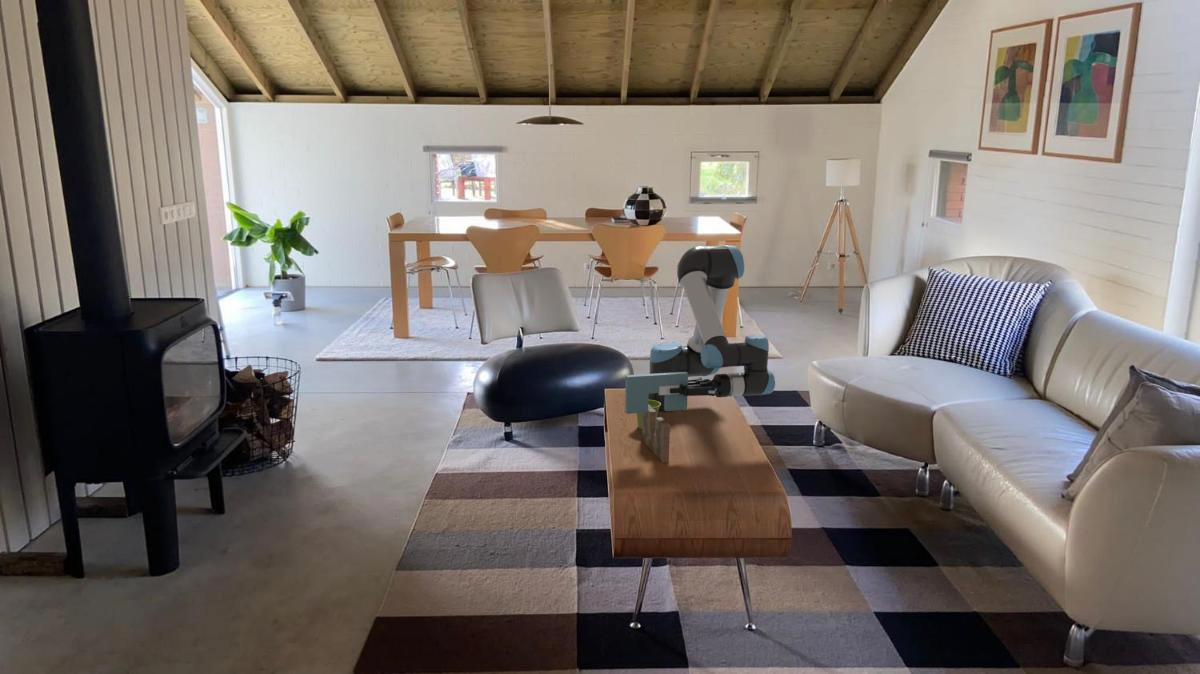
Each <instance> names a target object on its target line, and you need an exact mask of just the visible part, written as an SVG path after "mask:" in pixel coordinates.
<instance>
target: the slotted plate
mask: <svg viewBox="0 0 1200 674" xmlns="http://www.w3.org/2000/svg"><path fill="white" fill-rule="evenodd" d="M688 379H689V377H688V373H687V372H675V373H658V374H650V373H643V374H626V375H625V395H624V398H625V399H624V413H625V414H626V415H628V414H633V415H634V414H636V413H647V412H648V395H649V394H650V393H659V386H673V385H679V388H680V384H682V385H683V386H687V385H688ZM664 410H665V411H664V412H670V411H671V412H673V411H676V412H677V411H686V410H688V396H684V394H683V395H681V394H680V393H679V394H671V395H665V399H664Z"/></svg>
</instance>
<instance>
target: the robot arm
mask: <svg viewBox="0 0 1200 674" xmlns="http://www.w3.org/2000/svg"><path fill="white" fill-rule="evenodd" d="M744 273H745V261H744V257H743V254H742V251H741V250H740V249H739V247H738V246H735V245H727V244H724V245H703V246H702V245H699V246H698V245H697V246H694V247H691V248H689V249H688V250H687V251H685V252H684V253H683V254H682V256H681V258H680V260H679V262H678V264H677V273H676V274H677V280H678V284H679V287H680V288H681V289H682V290H684V291H685V294H686V297H687V299H688V304H689V305H690V308H691V311H692V314H693V316H694V319H695V326H694V331H693V336H691V337H689V338H688V339H687V344H686V345H683V346H682V344H681V343H679V342H676V341H675V342H673V341H672V342H670V341H668V342H660V343H658V344H655V345H653V347H651V348H650V354H649V358H648V359H649V374H658V373H675V372H687V373H688V385H687V386H683V385H682V384H680V388H679V385H673V386H659V393H650V394H649V395H648V400H655V401H658V402H660V403H661V406H660V407H659V410H658V411H660V412H661V411H663V412H666V411H665V410H664V399H665V395H671V394H679V393H680V394H681V395H683V394H684V396H687V397H693V396H694V397H698V396H700V397H701V396H703V397H704V396H706V397H707V396H708V397H709V396H711V397H714V396H715V397H716V398H727V397H733V398H735V399H736V398H738V397H742V396H743V397H744V396H762V395H769V394H771V393H773V392H774V390H775V388H776V381H775V378H776V377H775V375H774V373H773V372H772V371H769V369H768V361H769V351H770V347H769V344H770V343H769V338H768V337H767V336H764V335H761V334H750V335H746V336H745V338H744V341H743V342H735V343H729V341H728V338H727V336H726V333H725V330H724V327H723V326H722V325H723V324H722V322H721V321H722V318H723V317H722V316H723V314H724V309H725V304H726V301H727V298H728V297H727V295H728V293H729V290H730V289H732V288H733V287H734V284H735V282H736V280H739V279H741V278H743V276H744ZM732 367H733V368H734V367H743V370H744V372H729V373H718V372H719V370H720V369H721V368H732ZM708 376H713V378H712V379H709V378H705V379H703V378H702V377H708ZM692 377H695V378H692Z"/></svg>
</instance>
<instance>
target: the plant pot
mask: <svg viewBox="0 0 1200 674" xmlns="http://www.w3.org/2000/svg"><path fill="white" fill-rule="evenodd" d="M648 404H649V405H650V406H651V407H652V408H653V409H654V410H655V411H656V418H658V415H659V411H660V410H659V407H660V406H661V403H660V402H658V401H655V400H648ZM635 415H636V421H637V427H638V429H640V430H642V419H643V413H635Z"/></svg>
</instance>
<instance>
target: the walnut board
mask: <svg viewBox="0 0 1200 674" xmlns="http://www.w3.org/2000/svg"><path fill="white" fill-rule="evenodd" d="M670 429H671V425H670V424H669V423H668V422H667V421H666V420H665V418H663V417H662V416H661V417H658V416H657V418H656V411H655V410H654V409H653V408H652V407H651V406H650V405H649V404H648V412H647V413H643V419H642V429H641V431H642V432H641V439H642V441H643V440H644V441H643V442H644V443H645V444H646V445H647V446H648V448H649V447H650V448H649V449H650V450H651V451H652V452H653V454H654V455H655V456H656V455H657V456H656V458H658V459H659V460H660V462H661V463H662V462H666V463H669V462H670V437H671V436H670V435H671V434H670V433H671V432H670V431H671V430H670Z"/></svg>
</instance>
